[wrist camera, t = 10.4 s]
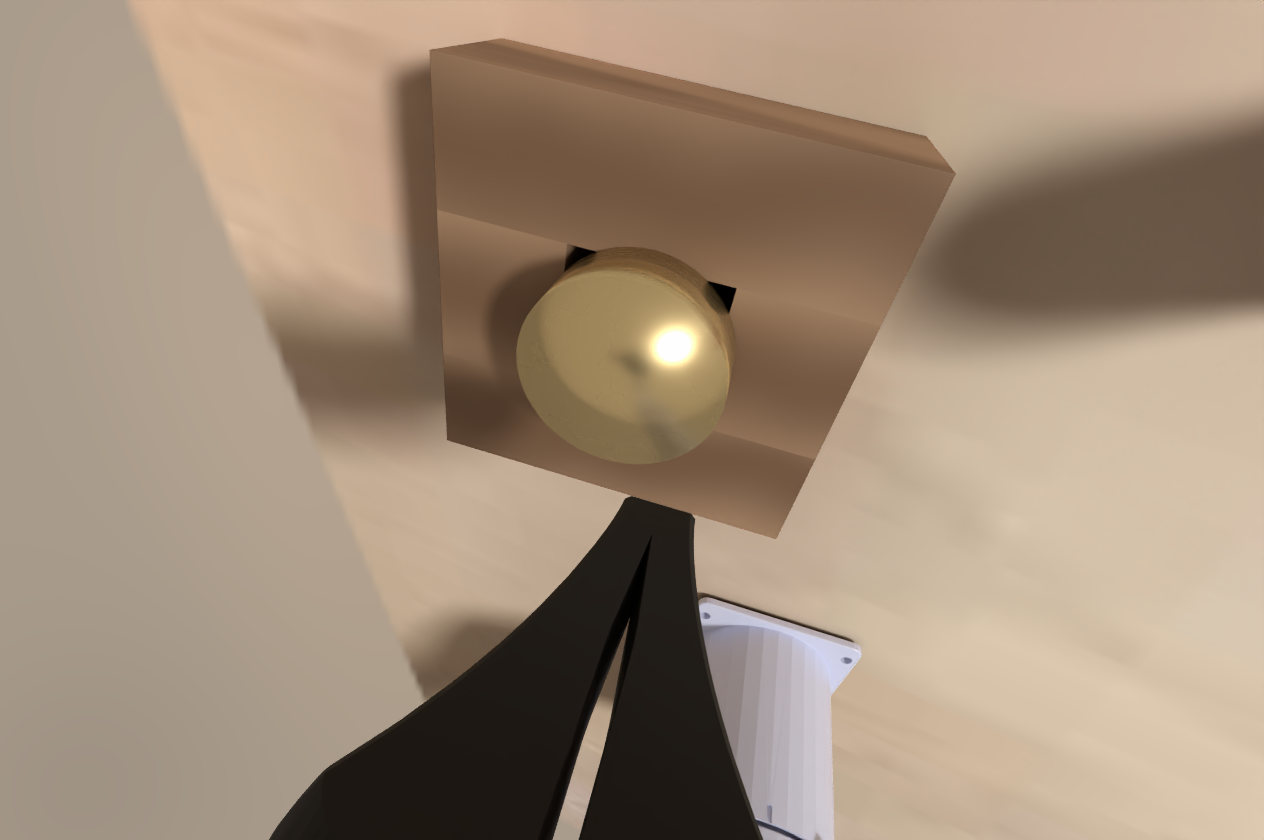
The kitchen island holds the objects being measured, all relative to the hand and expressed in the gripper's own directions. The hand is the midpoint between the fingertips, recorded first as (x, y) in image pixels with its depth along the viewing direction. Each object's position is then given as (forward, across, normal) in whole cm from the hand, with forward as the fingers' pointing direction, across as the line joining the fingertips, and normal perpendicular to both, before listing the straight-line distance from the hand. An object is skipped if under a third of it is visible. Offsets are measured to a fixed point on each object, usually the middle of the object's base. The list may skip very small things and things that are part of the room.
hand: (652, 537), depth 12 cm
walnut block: (+10, +2, -1) cm, 11 cm away
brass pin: (+10, +2, -1) cm, 11 cm away
